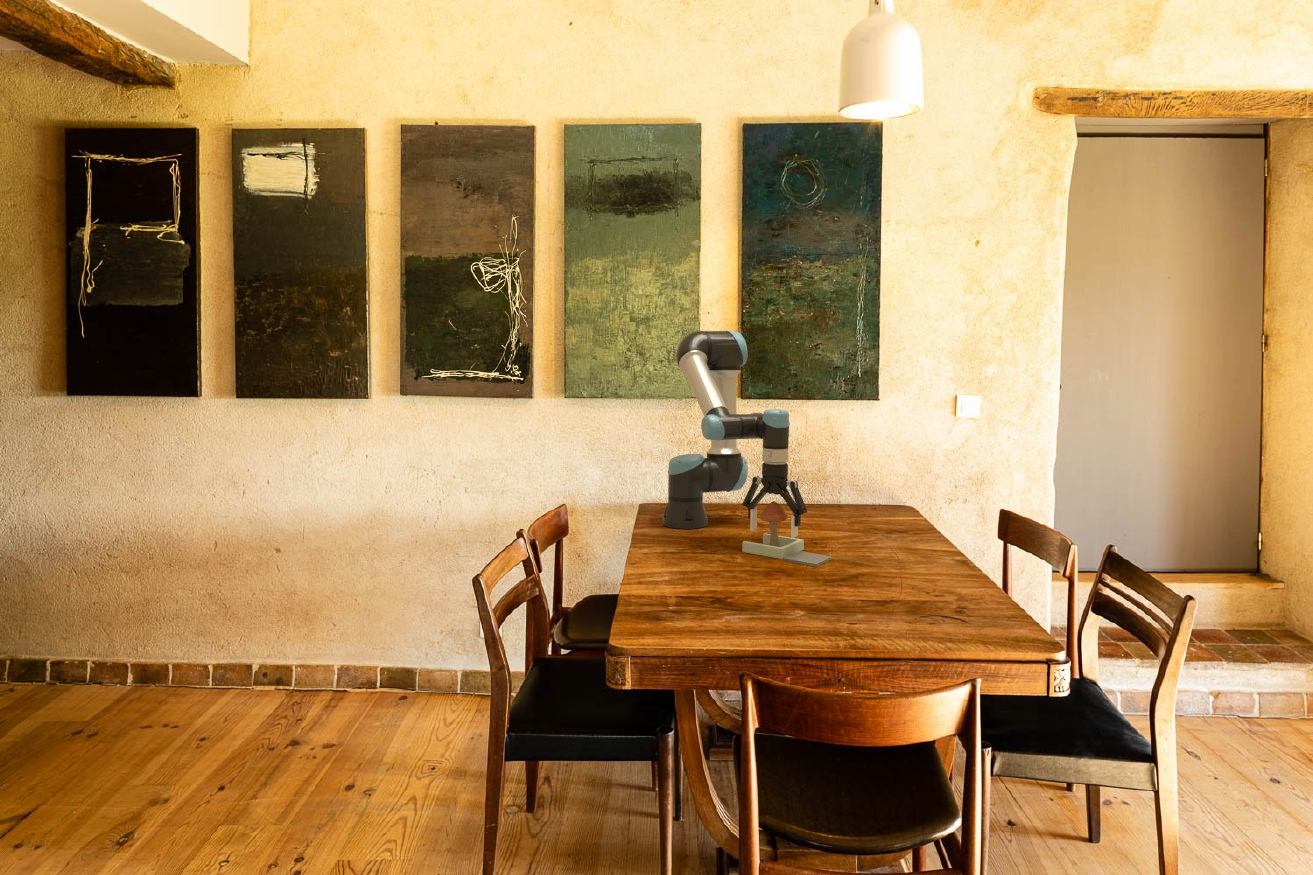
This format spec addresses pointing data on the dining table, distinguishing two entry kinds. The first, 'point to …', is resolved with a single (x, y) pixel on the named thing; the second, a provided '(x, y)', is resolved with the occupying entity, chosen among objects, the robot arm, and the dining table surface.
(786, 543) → the cream u-shaped piece
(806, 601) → the dining table surface
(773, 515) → the mushroom
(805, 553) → the coaster
